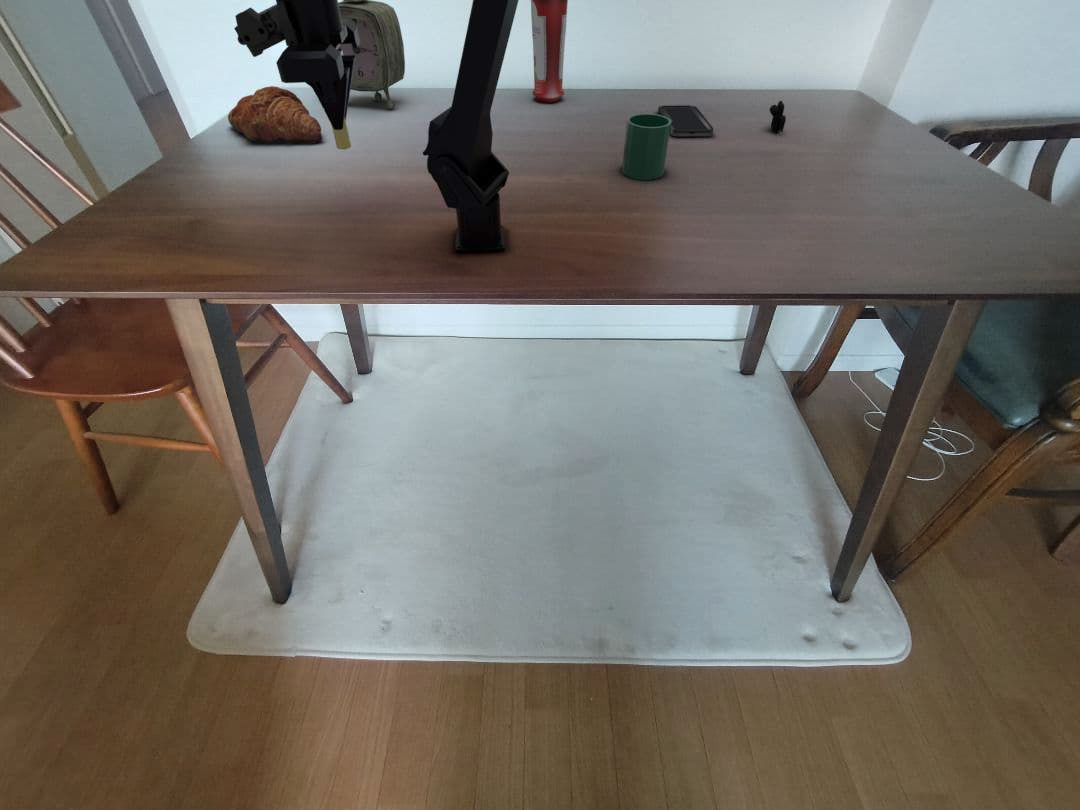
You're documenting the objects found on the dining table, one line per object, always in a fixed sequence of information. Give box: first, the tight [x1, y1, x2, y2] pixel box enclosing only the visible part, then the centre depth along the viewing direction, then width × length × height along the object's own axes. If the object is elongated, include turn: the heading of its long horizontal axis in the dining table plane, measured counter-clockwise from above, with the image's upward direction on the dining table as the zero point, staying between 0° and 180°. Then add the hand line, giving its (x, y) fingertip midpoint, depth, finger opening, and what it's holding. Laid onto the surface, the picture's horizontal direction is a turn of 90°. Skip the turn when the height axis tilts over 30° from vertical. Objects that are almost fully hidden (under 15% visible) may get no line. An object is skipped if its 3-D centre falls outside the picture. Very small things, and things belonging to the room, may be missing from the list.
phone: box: [657, 104, 714, 138], centre depth 112 cm, size 8×1×15 cm
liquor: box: [530, 0, 569, 104], centre depth 115 cm, size 7×7×28 cm
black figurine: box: [769, 100, 787, 133], centre depth 109 cm, size 7×2×5 cm, turn 175°
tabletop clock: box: [338, 0, 406, 110], centre depth 114 cm, size 14×9×25 cm, turn 73°
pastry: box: [227, 85, 323, 144], centre depth 105 cm, size 17×15×8 cm
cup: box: [621, 113, 671, 181], centre depth 93 cm, size 7×7×8 cm
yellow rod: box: [331, 117, 352, 150], centre depth 72 cm, size 2×2×9 cm
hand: (339, 126), depth 73 cm, fingers closed on yellow rod, 2 cm apart
